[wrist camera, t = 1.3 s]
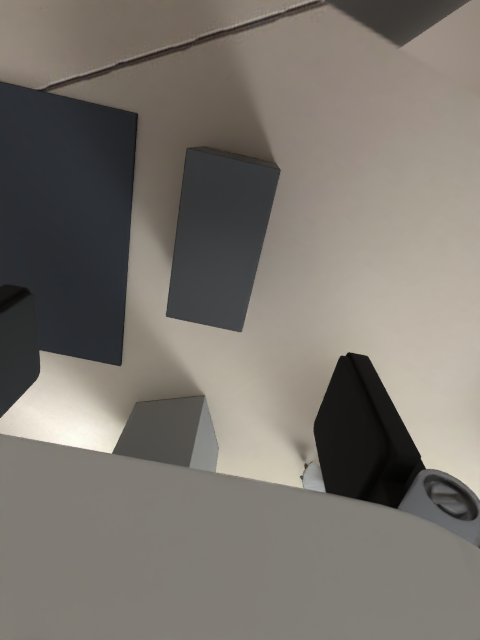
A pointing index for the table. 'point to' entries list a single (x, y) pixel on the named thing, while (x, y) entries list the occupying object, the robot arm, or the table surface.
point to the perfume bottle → (171, 433)
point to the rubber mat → (67, 216)
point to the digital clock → (219, 236)
